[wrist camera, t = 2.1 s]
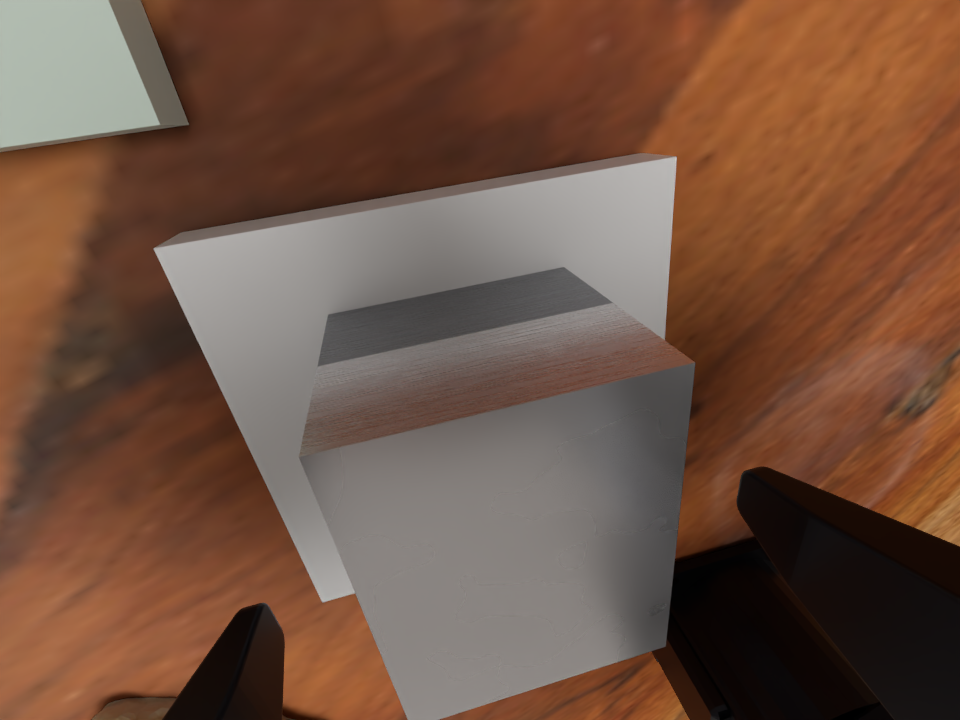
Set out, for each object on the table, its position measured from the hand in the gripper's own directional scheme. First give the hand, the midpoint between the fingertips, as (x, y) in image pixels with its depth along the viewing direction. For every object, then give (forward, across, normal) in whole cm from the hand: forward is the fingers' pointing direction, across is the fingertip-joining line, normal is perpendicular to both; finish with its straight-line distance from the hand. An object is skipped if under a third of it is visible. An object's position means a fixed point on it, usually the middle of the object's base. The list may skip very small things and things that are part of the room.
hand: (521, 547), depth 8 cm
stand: (+6, 0, 0) cm, 6 cm away
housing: (+4, 0, 0) cm, 4 cm away
